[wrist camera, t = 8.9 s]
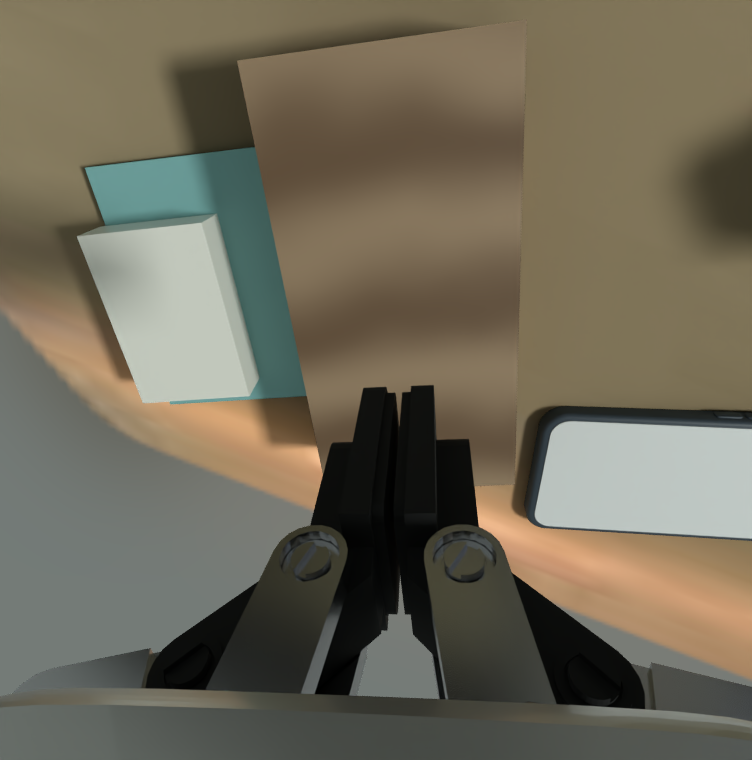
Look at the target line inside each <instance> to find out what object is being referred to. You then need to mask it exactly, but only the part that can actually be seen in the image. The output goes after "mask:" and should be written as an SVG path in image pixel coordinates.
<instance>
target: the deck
mask: <svg viewBox="0 0 752 760" xmlns="http://www.w3.org/2000/svg"><path fill="white" fill-rule="evenodd" d="M526 35H527V20H519V21H512V22H505V23H498V24H491V25H484V26H477V27H470V28H463V29H456V30H449V31H442V32H435V33H428V34H421V35H414V36H407V37H400V38H393V39H386V40H379V41H372V42H364V43H357V44H350V45H343V46H336V47H329V48H322V49H315V50H308V51H301V52H294V53H287V54H280V55H273V56H266V57H259V58H252V59H245V60H238V61H237V63H238V68H239V72H240V77H241V82H242V87H243V92H244V97H245V101H246V106H247V111H248V116H249V121H250V125H251V130H252V135H253V140H254V145H255V149H256V154H257V159H258V164H259V169H260V173H261V178H262V183H263V188H264V193H265V198H266V202H267V207H268V212H269V217H270V222H271V226H272V231H273V236H274V241H275V246H276V250H277V255H278V260H279V265H280V270H281V274H282V279H283V284H284V289H285V294H286V299H287V303H288V308H289V313H290V318H291V323H292V327H293V332H294V337H295V342H296V347H297V351H298V356H299V361H300V366H301V371H302V376H303V380H304V385H305V390H306V395H307V400H308V404H309V409H310V414H311V419H312V424H313V428H314V433H315V438H316V443H317V448H318V452H319V457H320V462H321V467H322V472H323V473H324V469H325V465H326V461H327V457H328V453H329V449H330V446H331V444H332V443H333V442H353V437H354V432H355V427H356V421H357V416H358V411H359V406H360V401H361V396H362V391H363V388H369V387H387V391H388V393H394V392H395V393H396V400H397V410H398V420H399V426H400V413H401V400H402V392H411V386H419V385H434V396H435V415H436V434H437V440H444V439H469V442H470V451H471V460H472V470H473V479H474V486H489V485H515V454H516V416H517V377H518V339H519V301H520V263H521V225H522V187H523V149H524V111H525V73H526Z"/></svg>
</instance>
